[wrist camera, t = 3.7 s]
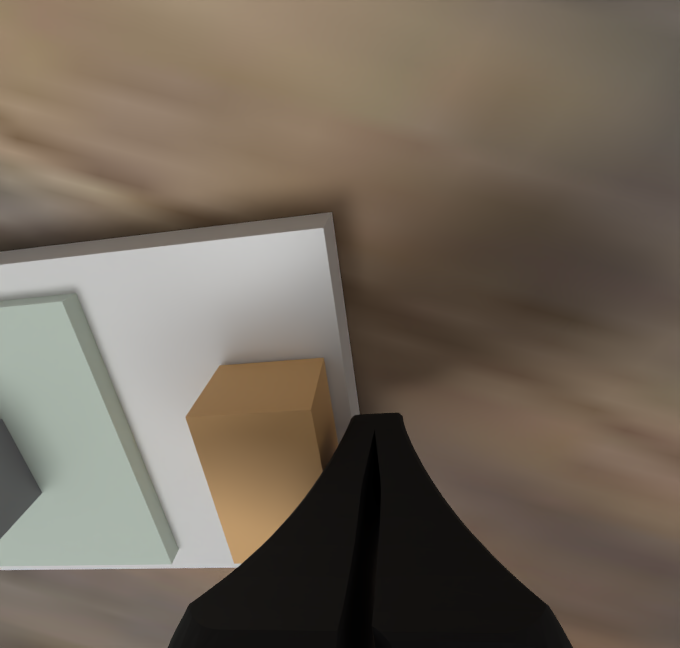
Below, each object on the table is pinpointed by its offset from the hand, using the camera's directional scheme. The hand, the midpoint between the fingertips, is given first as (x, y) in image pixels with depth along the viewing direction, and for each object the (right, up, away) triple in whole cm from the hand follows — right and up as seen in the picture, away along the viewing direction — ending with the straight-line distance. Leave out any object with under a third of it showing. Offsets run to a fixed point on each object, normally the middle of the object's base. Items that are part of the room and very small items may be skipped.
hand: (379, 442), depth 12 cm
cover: (-13, -1, +2) cm, 13 cm away
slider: (-3, 0, +1) cm, 3 cm away
